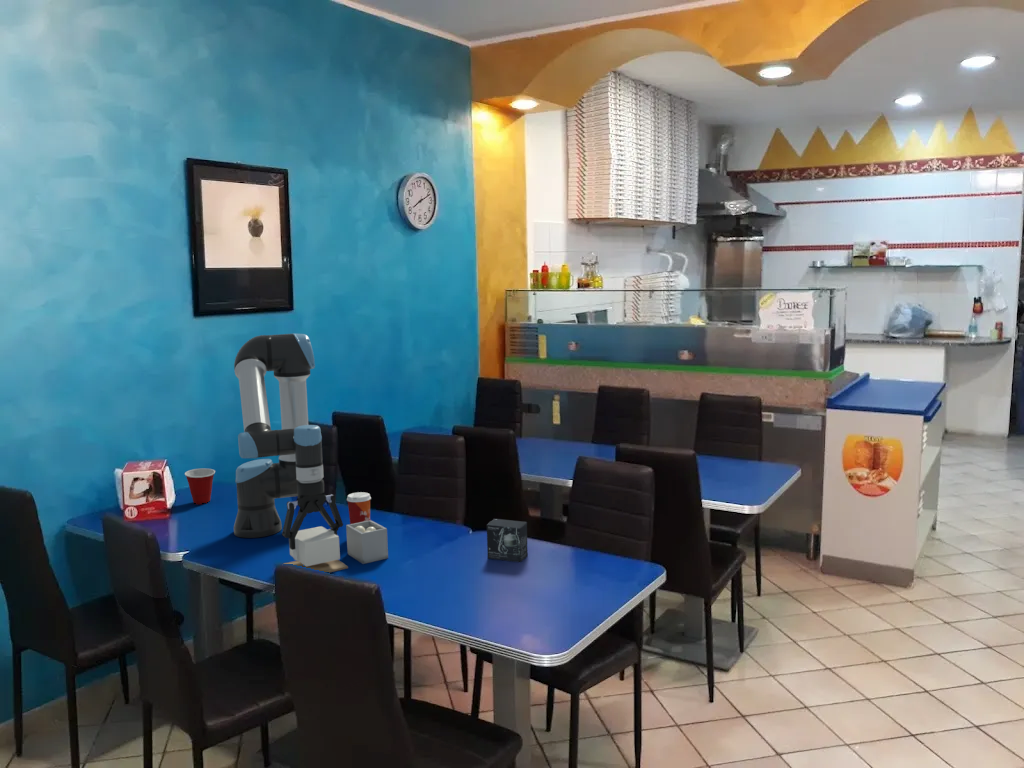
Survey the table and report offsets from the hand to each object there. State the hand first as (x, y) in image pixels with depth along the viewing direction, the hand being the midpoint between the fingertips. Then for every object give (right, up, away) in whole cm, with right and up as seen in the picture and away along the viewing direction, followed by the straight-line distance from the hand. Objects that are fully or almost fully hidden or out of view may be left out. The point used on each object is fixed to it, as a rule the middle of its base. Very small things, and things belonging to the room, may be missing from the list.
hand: (314, 555), depth 238 cm
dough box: (+14, -2, +9) cm, 16 cm away
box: (+55, -2, +5) cm, 56 cm away
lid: (0, 0, 0) cm, 0 cm away
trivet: (0, -3, +1) cm, 3 cm away
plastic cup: (-60, +4, +74) cm, 95 cm away
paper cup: (+8, 0, +27) cm, 28 cm away
